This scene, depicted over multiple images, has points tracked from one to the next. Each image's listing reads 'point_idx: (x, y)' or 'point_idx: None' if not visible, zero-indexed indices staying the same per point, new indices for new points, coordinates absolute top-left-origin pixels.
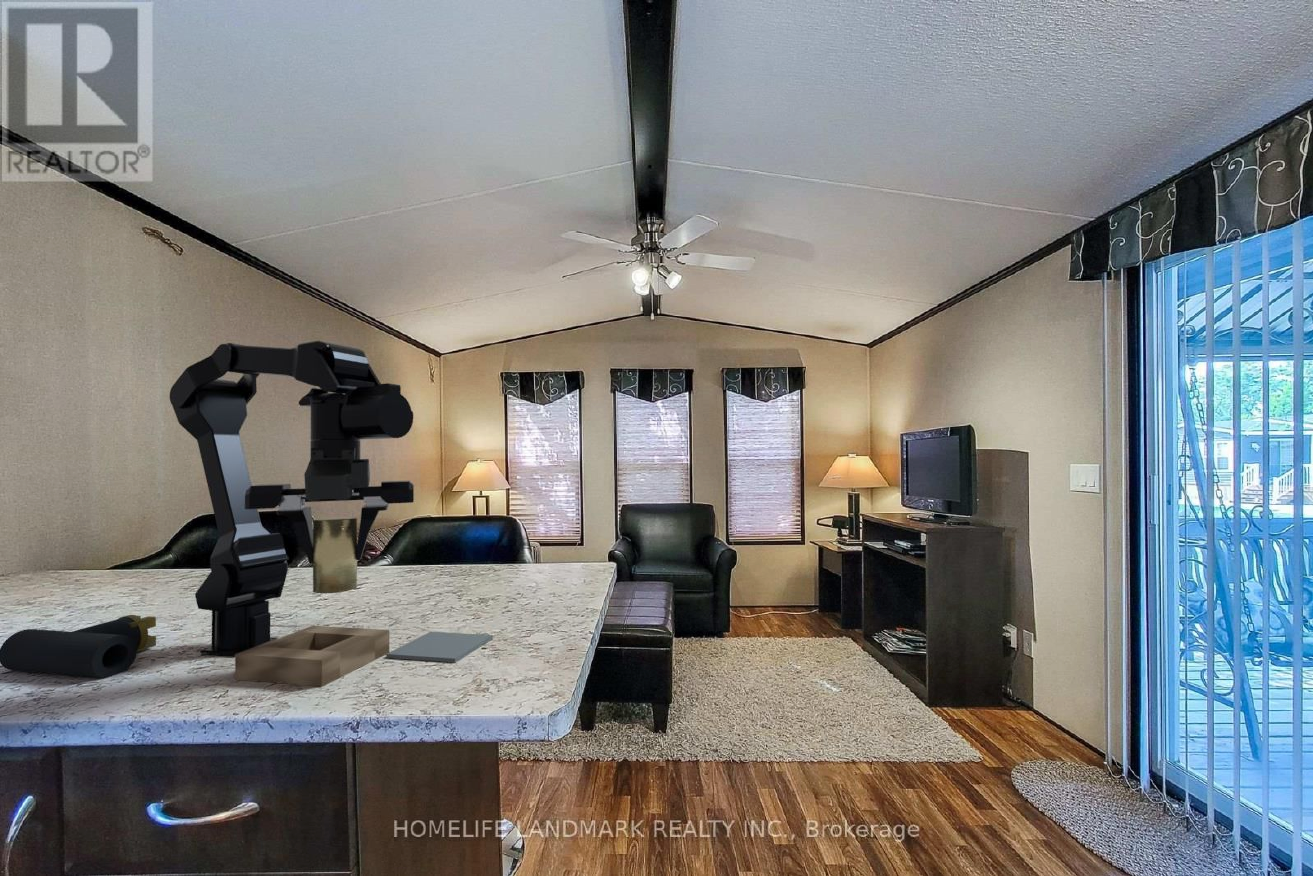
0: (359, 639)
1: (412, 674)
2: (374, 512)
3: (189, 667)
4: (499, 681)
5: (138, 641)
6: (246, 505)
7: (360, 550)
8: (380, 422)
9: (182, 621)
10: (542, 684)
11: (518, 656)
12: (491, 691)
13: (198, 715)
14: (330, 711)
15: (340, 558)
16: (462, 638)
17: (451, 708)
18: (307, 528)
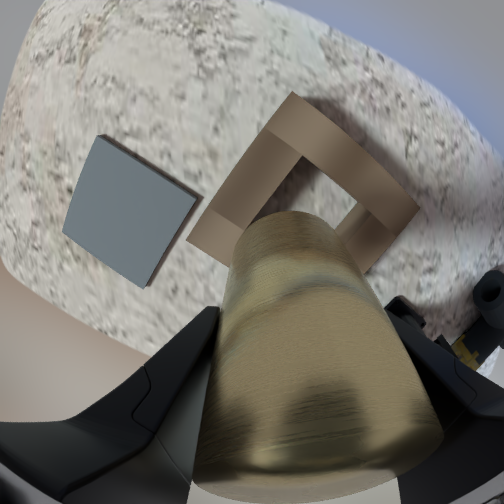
0: (234, 197)
1: (155, 101)
2: (18, 430)
3: (437, 276)
4: (65, 54)
5: (464, 342)
6: None
7: (197, 323)
8: None
9: None
10: (38, 44)
11: (38, 140)
12: (79, 26)
13: (418, 80)
14: (263, 5)
15: (279, 263)
16: (94, 232)
17: None
18: (458, 391)
